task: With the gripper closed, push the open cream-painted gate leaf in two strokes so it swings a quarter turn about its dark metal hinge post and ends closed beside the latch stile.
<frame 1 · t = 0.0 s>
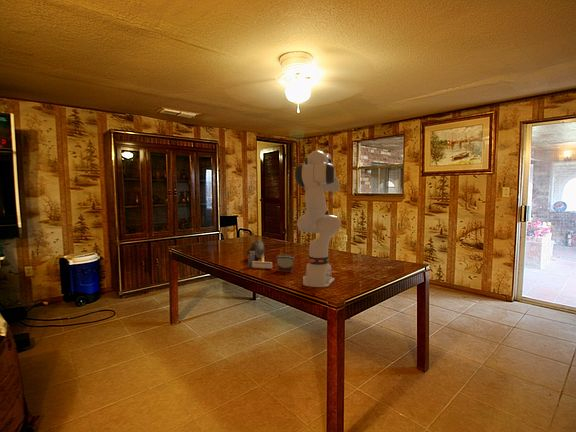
hand: (324, 198, 210), 48 cm above the table, fingers open, 8 cm apart
stone: (255, 258, 242), on the table
food container: (286, 270, 206), on the table
hinge post: (250, 267, 213), on the table
gate leaf: (262, 264, 211), point 2 cm above the table, hinge at 0.0°
latch stile: (252, 262, 227), on the table
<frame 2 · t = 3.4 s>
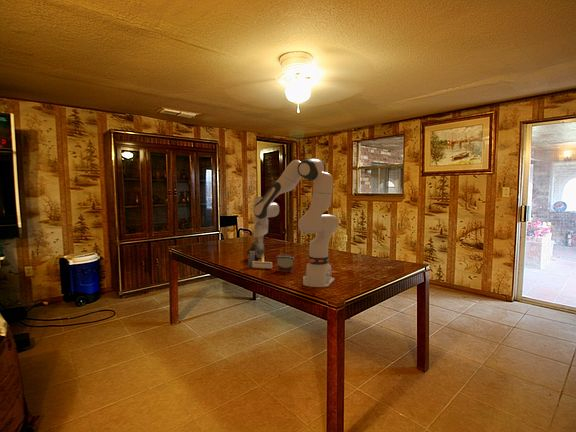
hand: (261, 242, 203), 19 cm above the table, fingers closed
nothing on the table moved.
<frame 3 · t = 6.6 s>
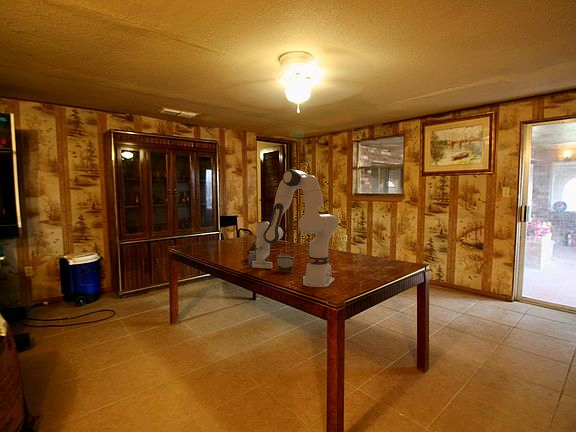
hand: (262, 265, 209), 3 cm above the table, fingers closed
gate leaf: (262, 264, 211), point 2 cm above the table, hinge at 0.0°, touching gripper
everything else where it was.
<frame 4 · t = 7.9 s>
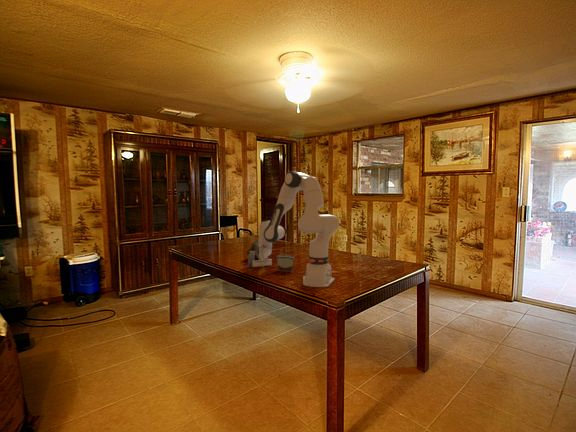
hand: (265, 263, 215), 3 cm above the table, fingers closed
gate leaf: (262, 262, 216), point 2 cm above the table, hinge at 36.9°, touching gripper
everything else where it was.
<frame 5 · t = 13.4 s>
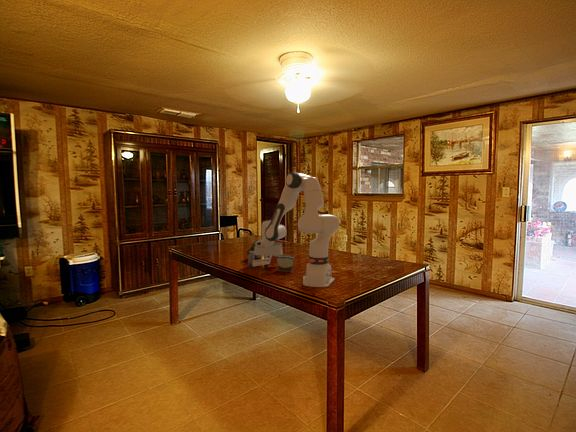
hand: (268, 261, 219), 3 cm above the table, fingers closed
gate leaf: (260, 262, 218), point 2 cm above the table, hinge at 50.9°, touching gripper
everything else where it was.
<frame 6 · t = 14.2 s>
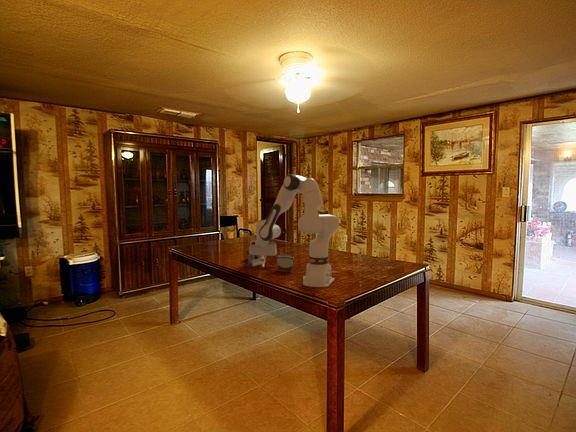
hand: (263, 261, 221), 3 cm above the table, fingers closed
gate leaf: (258, 261, 220), point 2 cm above the table, hinge at 67.8°, touching gripper
everything else where it was.
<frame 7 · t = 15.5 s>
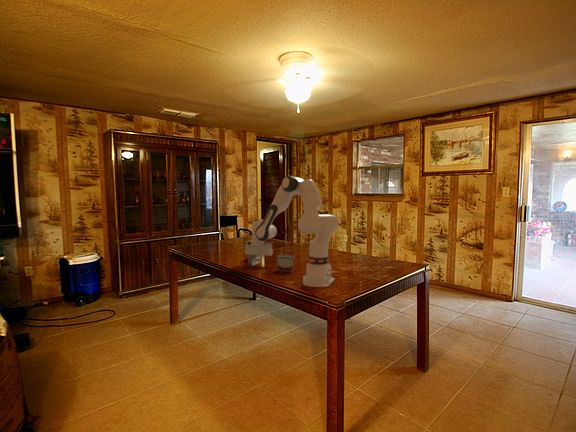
hand: (258, 261, 221), 3 cm above the table, fingers closed
gate leaf: (255, 261, 221), point 2 cm above the table, hinge at 84.1°, touching gripper
everything else where it was.
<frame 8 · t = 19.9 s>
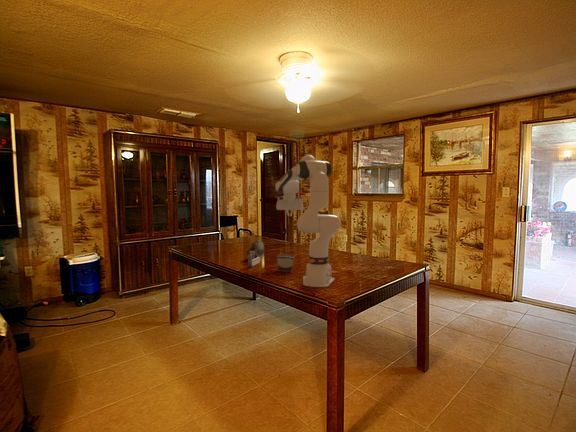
hand: (289, 216, 231), 34 cm above the table, fingers closed
gate leaf: (255, 261, 221), point 2 cm above the table, hinge at 84.1°
everything else where it was.
at the end: gate leaf at +84° (first picture: +0°); gate leaf touching nothing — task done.
